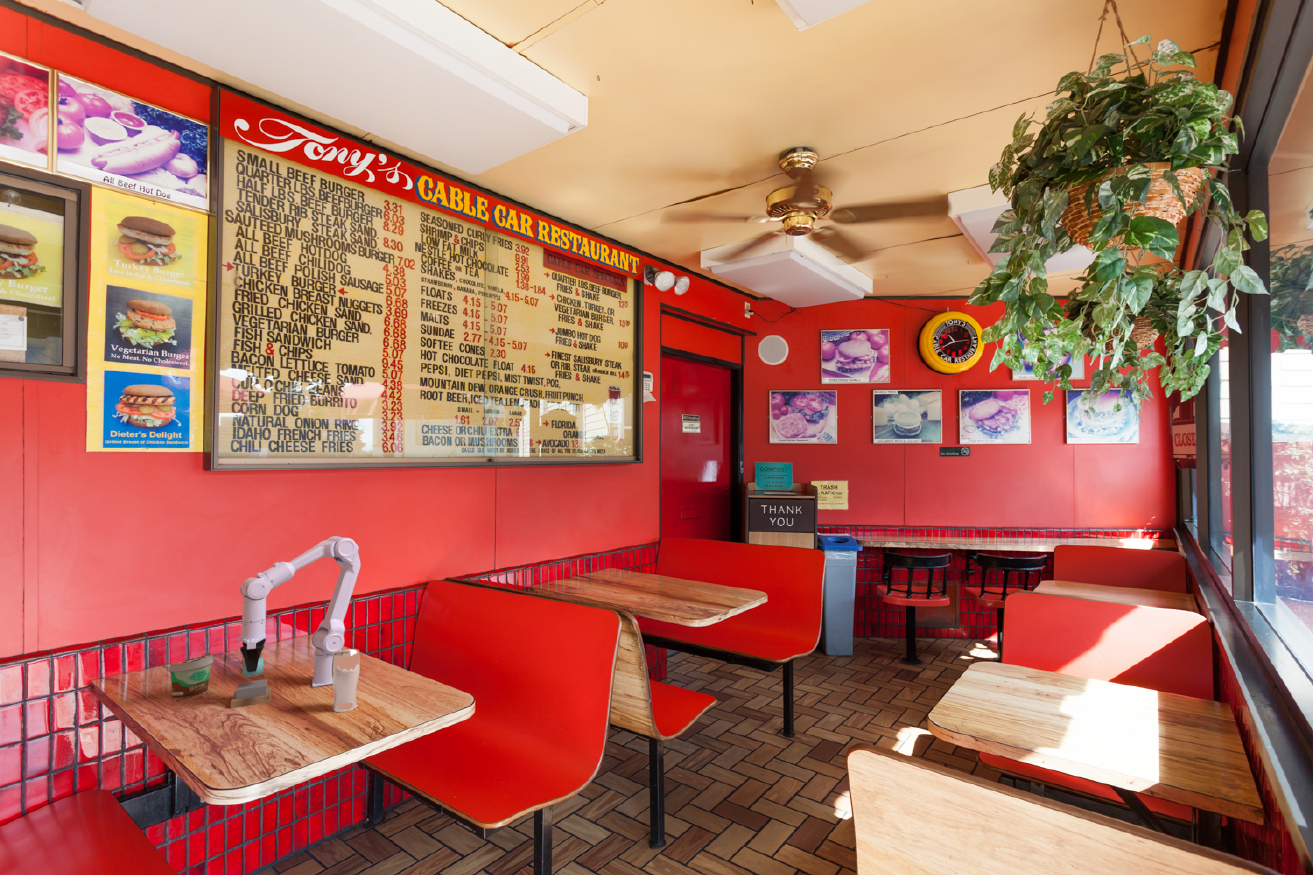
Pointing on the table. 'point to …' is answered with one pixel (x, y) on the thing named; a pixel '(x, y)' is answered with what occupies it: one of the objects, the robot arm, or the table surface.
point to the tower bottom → (251, 699)
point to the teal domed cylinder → (257, 672)
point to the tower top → (251, 689)
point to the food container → (190, 676)
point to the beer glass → (345, 679)
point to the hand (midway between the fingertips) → (252, 668)
